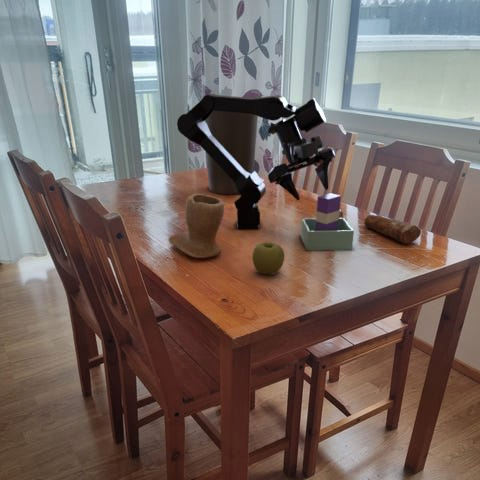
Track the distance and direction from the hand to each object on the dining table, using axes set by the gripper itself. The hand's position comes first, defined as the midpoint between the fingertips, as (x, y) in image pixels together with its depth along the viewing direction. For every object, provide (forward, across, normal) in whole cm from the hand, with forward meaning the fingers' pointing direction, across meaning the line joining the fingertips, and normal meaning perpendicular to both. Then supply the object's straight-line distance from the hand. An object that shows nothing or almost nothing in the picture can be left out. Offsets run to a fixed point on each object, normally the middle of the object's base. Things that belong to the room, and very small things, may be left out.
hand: (313, 194), depth 129 cm
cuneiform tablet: (+9, +11, +14) cm, 20 cm away
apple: (+15, -24, -9) cm, 30 cm away
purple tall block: (+13, -1, +2) cm, 13 cm away
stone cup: (+3, -34, +7) cm, 35 cm away
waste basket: (-22, -1, +57) cm, 61 cm away
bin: (+13, -1, +3) cm, 14 cm away
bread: (+18, +18, +2) cm, 26 cm away
